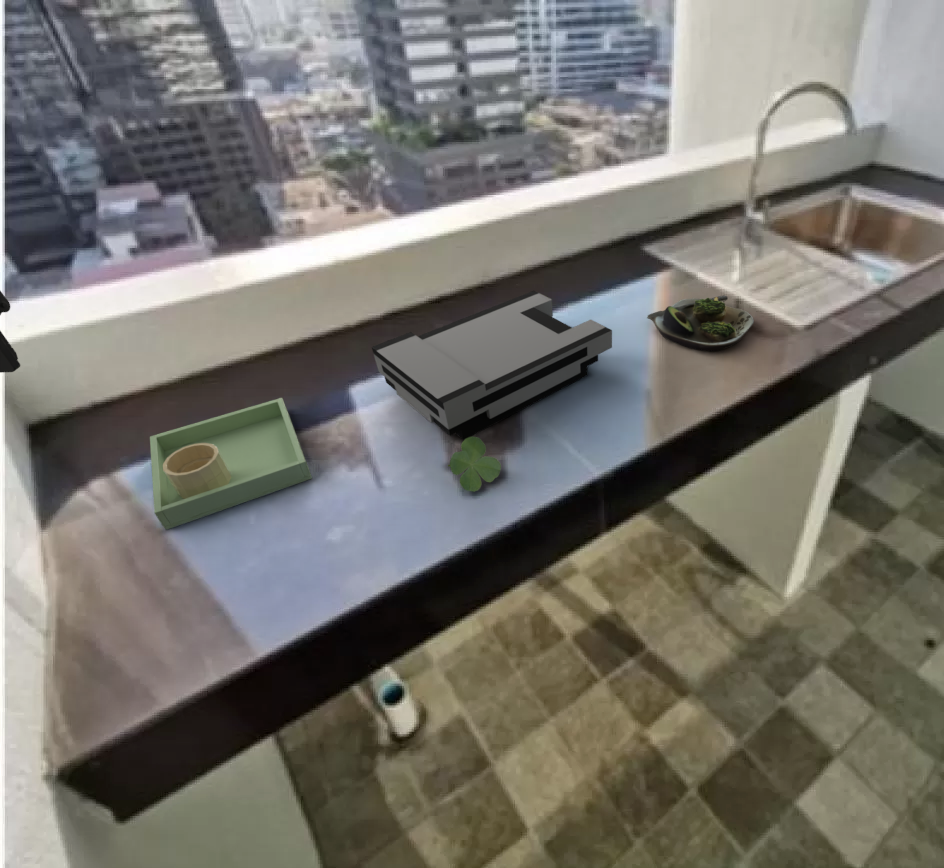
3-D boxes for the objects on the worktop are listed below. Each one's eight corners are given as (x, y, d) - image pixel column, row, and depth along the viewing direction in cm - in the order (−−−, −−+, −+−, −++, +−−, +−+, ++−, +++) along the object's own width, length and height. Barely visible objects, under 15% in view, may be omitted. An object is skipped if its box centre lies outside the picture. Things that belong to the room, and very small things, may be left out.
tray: (165, 530, 75) (154, 513, 73) (159, 453, 87) (149, 436, 85) (312, 478, 83) (305, 461, 81) (288, 413, 94) (281, 397, 92)
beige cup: (181, 510, 77) (163, 481, 74) (178, 481, 81) (161, 453, 78) (235, 491, 80) (220, 463, 77) (230, 464, 84) (215, 437, 81)
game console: (611, 366, 104) (612, 323, 99) (453, 449, 87) (443, 403, 82) (536, 324, 116) (533, 284, 111) (383, 390, 99) (371, 347, 94)
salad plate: (689, 293, 126) (691, 272, 123) (769, 317, 117) (773, 295, 114) (637, 330, 114) (638, 308, 111) (722, 360, 105) (725, 337, 102)
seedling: (472, 497, 86) (498, 495, 82) (421, 488, 81) (446, 485, 76) (478, 448, 88) (505, 444, 83) (429, 436, 83) (454, 431, 78)
